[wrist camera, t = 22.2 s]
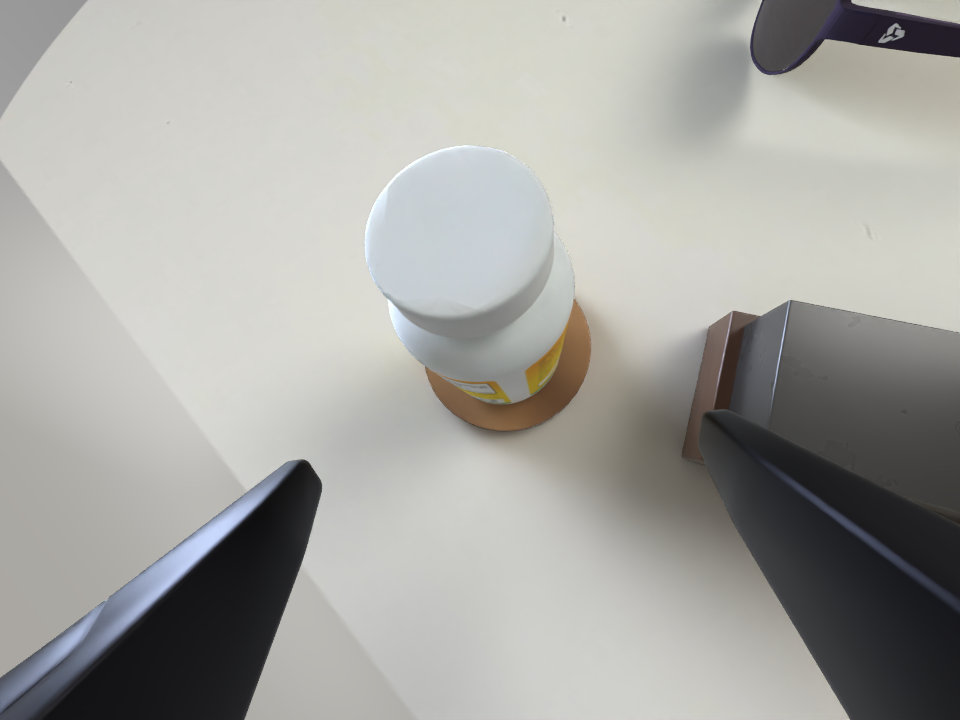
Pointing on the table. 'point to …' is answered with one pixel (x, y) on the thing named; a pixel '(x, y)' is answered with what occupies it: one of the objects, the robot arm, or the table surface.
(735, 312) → the sharpening stone
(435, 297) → the supplement bottle
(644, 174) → the table surface
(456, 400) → the cork coaster
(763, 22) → the sunglasses
